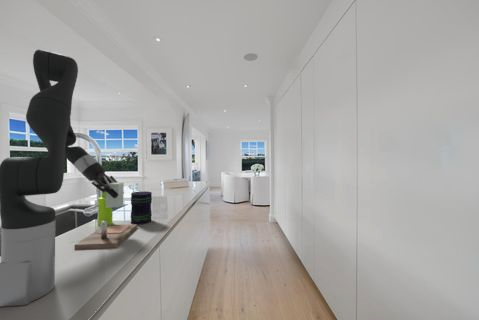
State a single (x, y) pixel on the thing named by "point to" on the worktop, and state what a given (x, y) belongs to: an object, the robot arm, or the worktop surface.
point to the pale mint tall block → (119, 199)
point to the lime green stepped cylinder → (104, 211)
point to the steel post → (103, 229)
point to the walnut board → (109, 242)
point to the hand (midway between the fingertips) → (119, 195)
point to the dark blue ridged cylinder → (141, 207)
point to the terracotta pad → (115, 229)
